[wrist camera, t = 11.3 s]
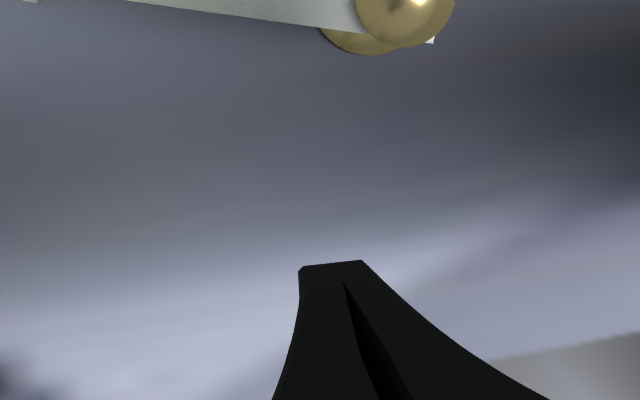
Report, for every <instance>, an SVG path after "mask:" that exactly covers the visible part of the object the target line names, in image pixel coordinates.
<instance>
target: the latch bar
mask: <svg viewBox="0 0 640 400" xmlns="http://www.w3.org/2000/svg"><path fill="white" fill-rule="evenodd" d="M127 1H134V2H141V3H148V4H155V5H162V6H169V7H176V8H184V9H191V10H198V11H205V12H212V13H219V14H226V15H233V16H241V17H248V18H255V19H262V20H269V21H276V22H283V23H290V24H297V25H305V26H312V27H319V28H326V29H333V30H340V31H347V32H354V33H361V34H369V35H371V36H373V37H374V38H376V39H377V40H379V41H381V42H382V43H384V44H386V45H389V46H392V47H397V48H409V47H414V46H417V45H420V44H423V43H433V41H434V36H435V35H436V34H437V33H438V32H439V31H440V30H441V29H442V28H443V27H444V25H445V24H446V22H447V21H448V19H449V17H450V15H451V13H452V10H453V7H454V4H455V0H127Z"/></svg>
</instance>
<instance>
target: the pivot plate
mask: <svg viewBox="0 0 640 400" xmlns="http://www.w3.org/2000/svg"><path fill="white" fill-rule="evenodd" d="M320 30H321V31H322V32H323V34H324V35H325V36H326V37H327V38H328V39H329V40H330V41H332V42H333V43H334V44H335V45H337V46H339V47H340V48H342V49H344V50H346V51H349V52H351V53H355V54H360V55H379V54H384V53H387V52H391V51H393V50H395V49H397V47H392V46H389V45H386V44H384V43H382V42H381V41H379V40H377V39H376V38H374V37H373V36H371V35H369V34H361V33H354V32H347V31H340V30H333V29H326V28H320Z"/></svg>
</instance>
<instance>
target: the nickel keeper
mask: <svg viewBox="0 0 640 400" xmlns="http://www.w3.org/2000/svg"><path fill="white" fill-rule="evenodd" d="M22 1H27V2H33V3H39V2H43V1H46V0H22Z"/></svg>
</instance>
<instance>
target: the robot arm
mask: <svg viewBox="0 0 640 400" xmlns="http://www.w3.org/2000/svg"><path fill="white" fill-rule="evenodd" d="M298 280H299V307H298V312H297V318H296V323H295V328H294V333H293V337H292V340H291V344H290V347H289V351H288V354H287V358H286V361H285V364H284V367H283V370H282V373H281V376H280V379H279V382H278V385H277V387H276V390H275V392H274V395H273V397H272V400H549V399H548V398H546V397H544V396H542V395H540V394H538V393H536V392H535V391H532V390H531V389H529V388H527V387H525V386H523V385H522V384H520V383H518V382H516V381H515V380H513V379H511V378H510V377H508V376H506V375H505V374H503V373H501V372H500V371H498V370H497V369H495V368H493V367H492V366H490V365H489V364H487V363H486V362H484V361H483V360H481V359H479V358H478V357H476V356H475V355H473V354H472V353H470V352H469V351H467V350H466V349H465V348H463V347H462V346H460V345H459V344H457V343H456V342H455V341H453V340H452V339H451V338H450V337H448V336H447V335H446V334H444V333H443V332H442V331H440V330H439V329H438V328H436V327H435V326H434V325H433V324H431V323H430V322H429V321H428V320H427V319H425V318H424V317H423V316H422V315H421V314H420V313H418V312H417V311H416V310H415V309H414V308H413V307H412V306H410V305H409V304H408V303H407V302H406V301H405V300H404V299H402V298H401V297H400V296H399V295H398V294H397V293H396V292H395V291H394V290H393V289H392V288H391V287H390V286H388V285H387V284H386V283H385V282H384V281H383V280H382V279H381V278H380V277H379V276H378V275H377V274H376V273H375V272H374V271H373V270H372V269H371V268H370V267H369V266H368V265H367V264H366V263H364V262H363V261H362V260H354V261H345V262H336V263H327V264H318V265H309V266H303V267H302V268H301V269H300V270H299V271H298Z"/></svg>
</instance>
